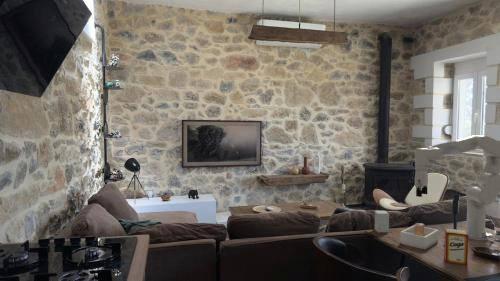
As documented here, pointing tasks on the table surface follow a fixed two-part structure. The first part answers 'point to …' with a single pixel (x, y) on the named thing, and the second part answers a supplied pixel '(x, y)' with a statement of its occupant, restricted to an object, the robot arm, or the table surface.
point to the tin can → (419, 229)
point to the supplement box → (381, 221)
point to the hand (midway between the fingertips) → (421, 195)
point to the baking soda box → (456, 246)
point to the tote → (419, 237)
